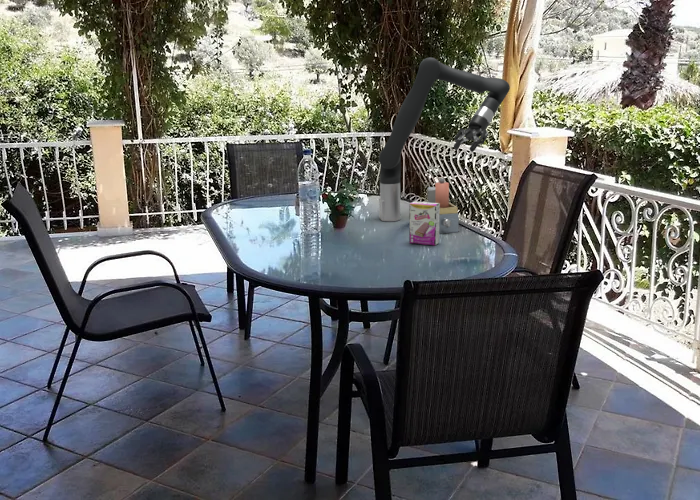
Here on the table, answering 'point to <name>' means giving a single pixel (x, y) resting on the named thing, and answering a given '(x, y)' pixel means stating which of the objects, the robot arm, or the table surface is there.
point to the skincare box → (431, 195)
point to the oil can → (442, 193)
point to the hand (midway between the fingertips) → (463, 149)
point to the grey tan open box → (448, 219)
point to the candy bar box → (424, 223)
